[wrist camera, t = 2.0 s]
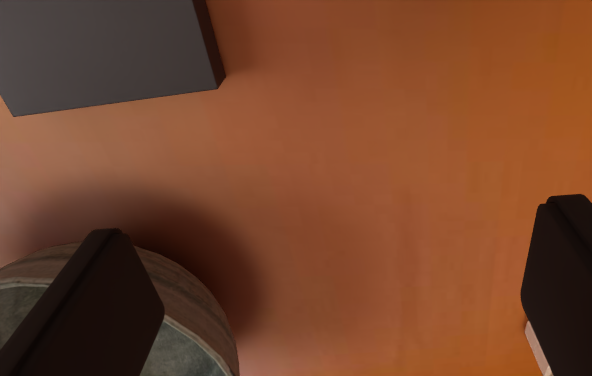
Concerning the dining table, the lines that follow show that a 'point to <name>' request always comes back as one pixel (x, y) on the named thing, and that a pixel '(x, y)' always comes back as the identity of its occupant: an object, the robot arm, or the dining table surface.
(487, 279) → the dining table surface
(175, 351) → the bowl
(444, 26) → the dining table surface
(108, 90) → the black button base
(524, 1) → the dining table surface
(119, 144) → the dining table surface
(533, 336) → the small bowl
